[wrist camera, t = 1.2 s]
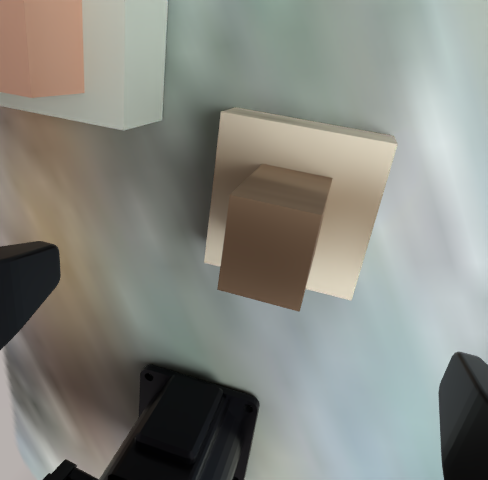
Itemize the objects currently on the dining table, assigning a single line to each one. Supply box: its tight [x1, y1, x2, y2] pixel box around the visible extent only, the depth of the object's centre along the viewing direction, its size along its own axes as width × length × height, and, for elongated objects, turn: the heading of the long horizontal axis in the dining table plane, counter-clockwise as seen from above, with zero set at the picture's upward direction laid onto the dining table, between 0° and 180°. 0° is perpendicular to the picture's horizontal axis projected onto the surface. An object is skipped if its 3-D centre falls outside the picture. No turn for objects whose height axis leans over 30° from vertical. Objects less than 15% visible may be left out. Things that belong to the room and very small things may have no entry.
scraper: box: [204, 107, 398, 311], centre depth 14 cm, size 6×6×6 cm
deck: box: [0, 0, 168, 130], centre depth 15 cm, size 7×7×3 cm
